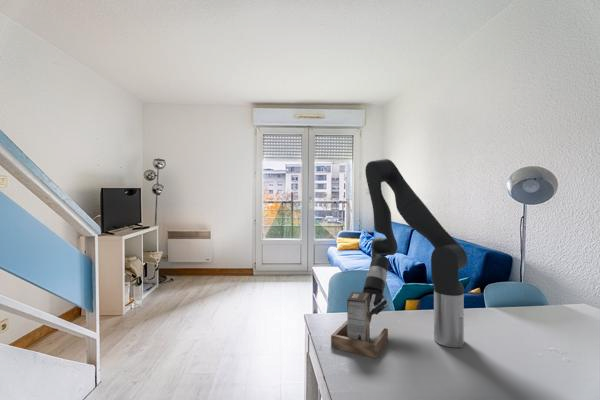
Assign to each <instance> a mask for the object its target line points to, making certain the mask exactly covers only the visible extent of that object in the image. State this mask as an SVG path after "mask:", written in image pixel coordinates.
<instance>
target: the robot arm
mask: <svg viewBox="0 0 600 400" xmlns="http://www.w3.org/2000/svg"><path fill="white" fill-rule="evenodd" d="M365 180H366V183H367V188H368V193H369V197H370V200H371V206H372V212H373V213H372V215H373V226H374V227H373V228H374V231H375V232H376V233H378V234H380V235H384V237H378V236H377V237H374V239H372V241H371V246H370V247H371V262H370V265H369V268H368V270H367V274H366V277H365V281H364V286H363V290H362V292H361V293H370V323H371V320H372V316H373V315H378V314H380V313H381V312H383V310H385V309H386V308H388V306H389V303H388V301H387V300H385V297H384V294H385V293H384V292H385V289H386V288H385V287H386V284H387V278H388V271H389V266H390V260H389V258H388V257H387V256H394V255H395V254H396V253H397V251H398V242H397V240H396V237H395V234H394V231H393V225H392V212H391V209H390V206H389V204H388V202H387V201H386V199H385V197H384V195H383V191H382V183H386V184H387V185H388V186H389V187H390V189H391V190H392V192H393V194H394V198H395V199H394V200H395V206H396V210H397V212H398V213H399V215H400V217H402V218H403V220H404V221H405V222H406V224H407V225H408V226H410V228H411V229H413V230H414V231H416V232H417V233H419V234H420V235H421V236H422V237H424V238H425V239H426V240H427V241H428V242H429V243H430V244H431V246H433V251H432V252H431V256H430V272H431V273H430V274H431V281H432V285H433V340H434V342H436V343H437V344H439V345H441V346H444V347H448V348H464V342H465V313H464V310H465V307H464V305H465V304H464V298H465V294H464V292H465V288H464V284H463V283H461V282H460V276H459V271H460V270H463V269H464V268H465V267H466V266H467V264H468V255H467V252H466V250H465V249H464V248H463V246H462V245H460V243H459V242H457V241H456V240H455V239H454V238H453V236H452V235H450V233H448V232H447V231H446V229H445V228H444V227H443V226H442V225H441V222H439V221H438V219H437V218H436V216H434V215H433V213H431V211H430V210H429V208H428V207H427V205H426V204H425V203H424V202H423V201H422V199H420V197H419V195H417V193H416V192H415V191H414V190H413V189H412V188H411V185H410V184H409V183H408V182H407V181H406V179H405V178H404V176H403V175H402V174H401V172H400V171H399V169H398V167H397V166H396V164H395V163H394V162H393V160H391V159H387V158H381V159H374V160H373V159H372V160H370V161H368V162H367V163H366V165H365Z"/></svg>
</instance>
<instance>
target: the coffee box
mask: <svg viewBox="0 0 600 400" xmlns="http://www.w3.org/2000/svg"><path fill="white" fill-rule="evenodd" d="M346 305H347V306H346V307H347V313H346V314H347V317H346V318H347V321H348V334H347V337H348V338H352V339H357V340H361V341H366V342H370V338H371V332H370V331H371V322H370V293H361V292H360V291H359V292H358V291H352V292H351V293H350V295H349V296H348V298H347V303H346Z"/></svg>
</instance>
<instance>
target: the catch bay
mask: <svg viewBox="0 0 600 400" xmlns="http://www.w3.org/2000/svg"><path fill="white" fill-rule="evenodd" d="M388 333H389V329H388V328H386V327H385V328H383V329H382V331H381V332H380V334H379V335H378V337H376V339H375V340H374V342H370V341H369V342H366V341H361V340H357V339H352V338H348V320H346V321H344V322H343V323H342V325H340V326H339V328H337V329H336V330H335V331H334V332H333V333H332V334H331V335H330V347H331V348H333V349H337V350H342V351H345V352H349V353H353V354H356V355H361V356H365V357H368V358H371V359H377V357H378V356H379V354H380V353H381V351H382V350H383V348H384V347H385V346H386V344H387V343H388V340H389V334H388Z"/></svg>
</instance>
